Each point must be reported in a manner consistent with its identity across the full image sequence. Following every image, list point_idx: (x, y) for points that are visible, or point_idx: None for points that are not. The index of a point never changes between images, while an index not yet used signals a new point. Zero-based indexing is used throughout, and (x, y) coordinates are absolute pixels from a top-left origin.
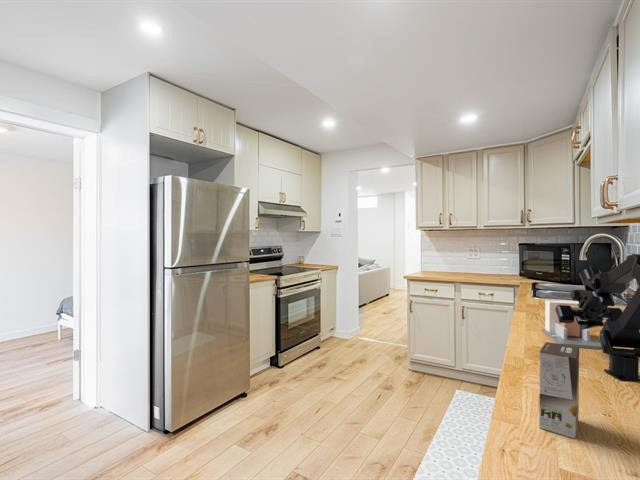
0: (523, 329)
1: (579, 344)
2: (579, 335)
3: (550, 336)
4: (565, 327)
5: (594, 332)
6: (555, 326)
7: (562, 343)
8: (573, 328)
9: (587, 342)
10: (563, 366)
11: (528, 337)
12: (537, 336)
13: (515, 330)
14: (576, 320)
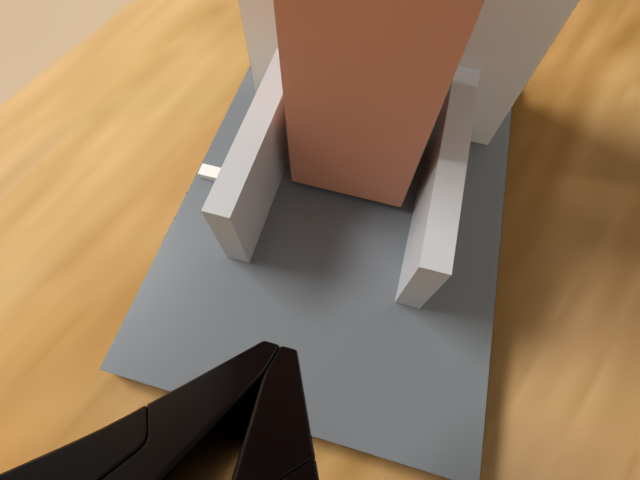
0: (175, 13)
1: None
2: (399, 201)
3: (208, 161)
4: (294, 135)
5: (609, 63)
6: None
7: (115, 371)
8: (360, 155)
9: (375, 339)
10: None
11: (53, 157)
12: (143, 137)
13: (103, 29)
14: (402, 96)
